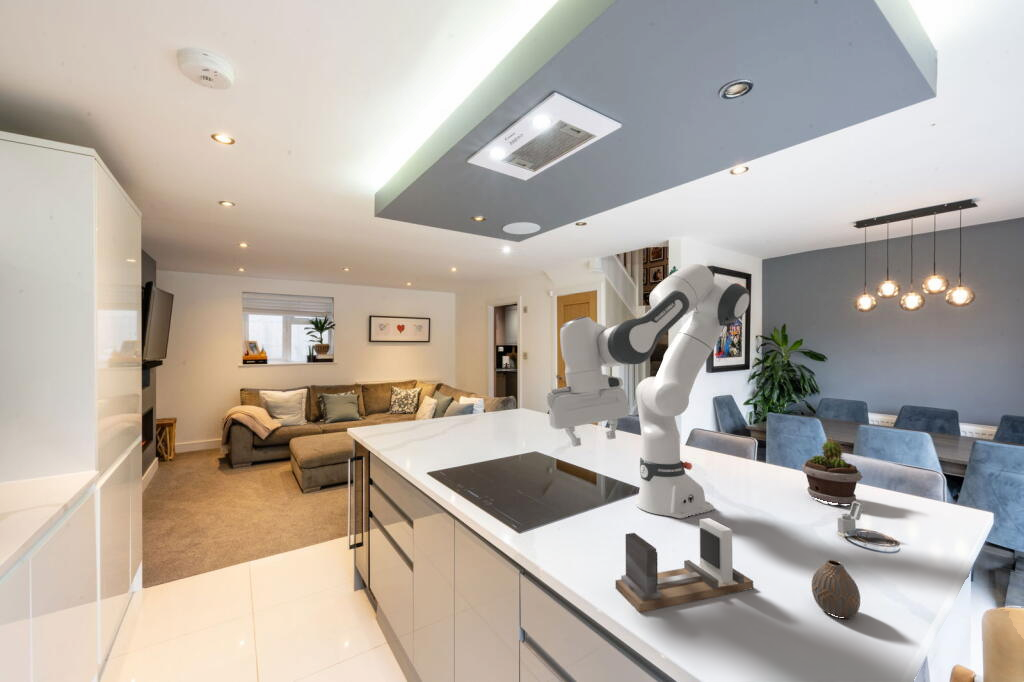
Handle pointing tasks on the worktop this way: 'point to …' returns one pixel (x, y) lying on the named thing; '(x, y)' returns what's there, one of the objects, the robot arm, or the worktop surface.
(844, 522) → the lighter
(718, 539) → the white upright block
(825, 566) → the vase
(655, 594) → the rail
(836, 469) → the flowerpot
